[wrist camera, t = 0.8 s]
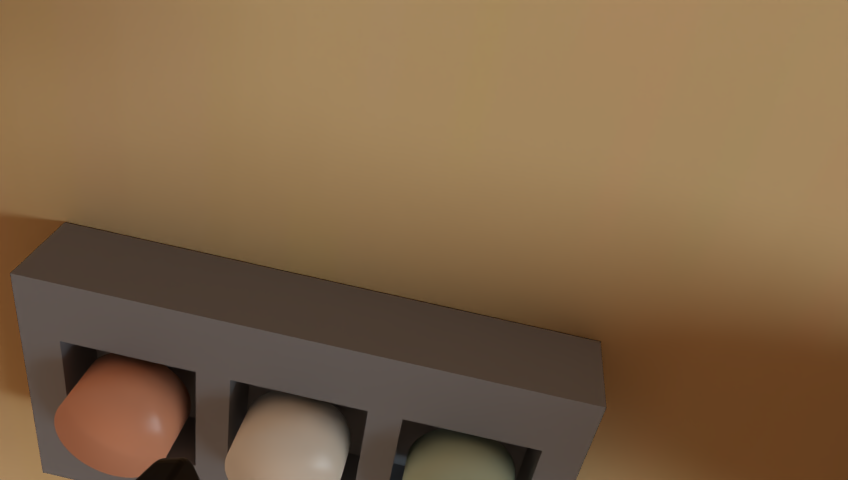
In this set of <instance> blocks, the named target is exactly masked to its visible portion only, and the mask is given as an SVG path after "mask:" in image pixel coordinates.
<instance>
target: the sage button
mask: <svg viewBox="0 0 848 480" xmlns="http://www.w3.org/2000/svg"><path fill="white" fill-rule="evenodd" d="M402 480H515V464H514V461H513V459H512V457H511V455H510V453H509V452H508V451H507V449H506V448H505V447H504V446H503V445H502V444H500V443H499V442H498V441H496V440H492V439H487V438H483V437H479V436H474V435H470V434H466V433H461V432H457V431H452V430H448V429H444V428H443V429H438V430H434V431H431V432H429V433H426V434H424V435H423V436H421V437H420V438H418V439H417V440H416V441H415V442H414V443H413V444H412V446H411V447H410V449H409V451H408V454H407V459H406V464H405V469H404V473H403V478H402Z"/></svg>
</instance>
